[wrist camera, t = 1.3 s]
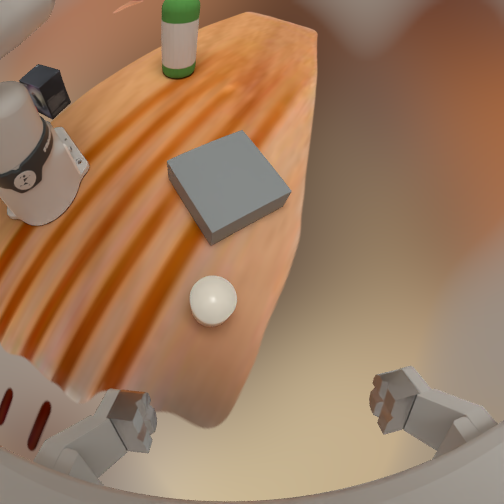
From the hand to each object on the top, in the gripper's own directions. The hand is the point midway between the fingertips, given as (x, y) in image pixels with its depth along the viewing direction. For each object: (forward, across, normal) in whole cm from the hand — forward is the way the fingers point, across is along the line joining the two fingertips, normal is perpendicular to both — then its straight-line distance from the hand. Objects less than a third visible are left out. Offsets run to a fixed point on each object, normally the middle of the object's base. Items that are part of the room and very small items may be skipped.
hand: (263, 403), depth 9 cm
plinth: (+41, +3, -6) cm, 41 cm away
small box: (+49, +44, -31) cm, 73 cm away
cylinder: (+30, +6, +10) cm, 32 cm away
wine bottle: (+58, +14, -35) cm, 69 cm away
